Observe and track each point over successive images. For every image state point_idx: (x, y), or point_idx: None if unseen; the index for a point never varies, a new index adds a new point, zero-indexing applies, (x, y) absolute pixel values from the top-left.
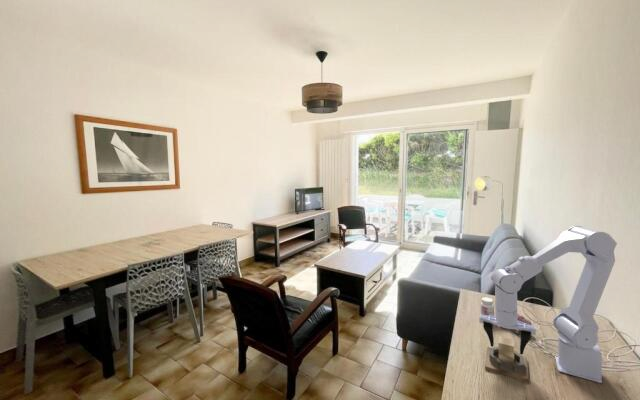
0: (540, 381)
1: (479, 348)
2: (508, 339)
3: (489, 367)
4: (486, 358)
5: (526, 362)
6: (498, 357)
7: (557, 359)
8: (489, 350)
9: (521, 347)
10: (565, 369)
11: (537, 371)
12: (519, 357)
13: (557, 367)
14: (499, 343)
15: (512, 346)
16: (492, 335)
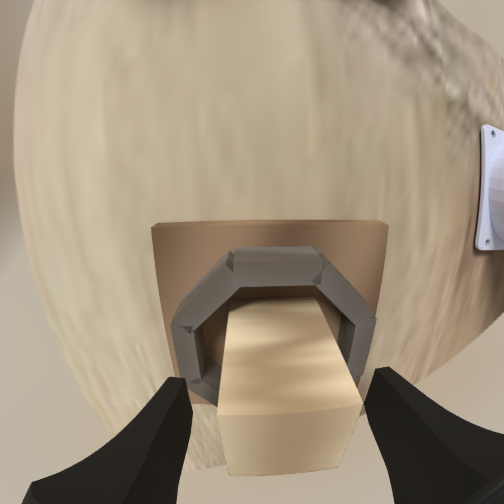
0: (395, 354)
1: (116, 236)
2: (311, 423)
3: (200, 403)
4: (172, 352)
5: (377, 281)
6: (228, 314)
7: (488, 160)
8: (168, 266)
9: (385, 454)
10: (496, 233)
11: (404, 294)
12: (352, 321)
13: (478, 223)
14: (235, 472)
15: (326, 467)
16: (171, 486)
